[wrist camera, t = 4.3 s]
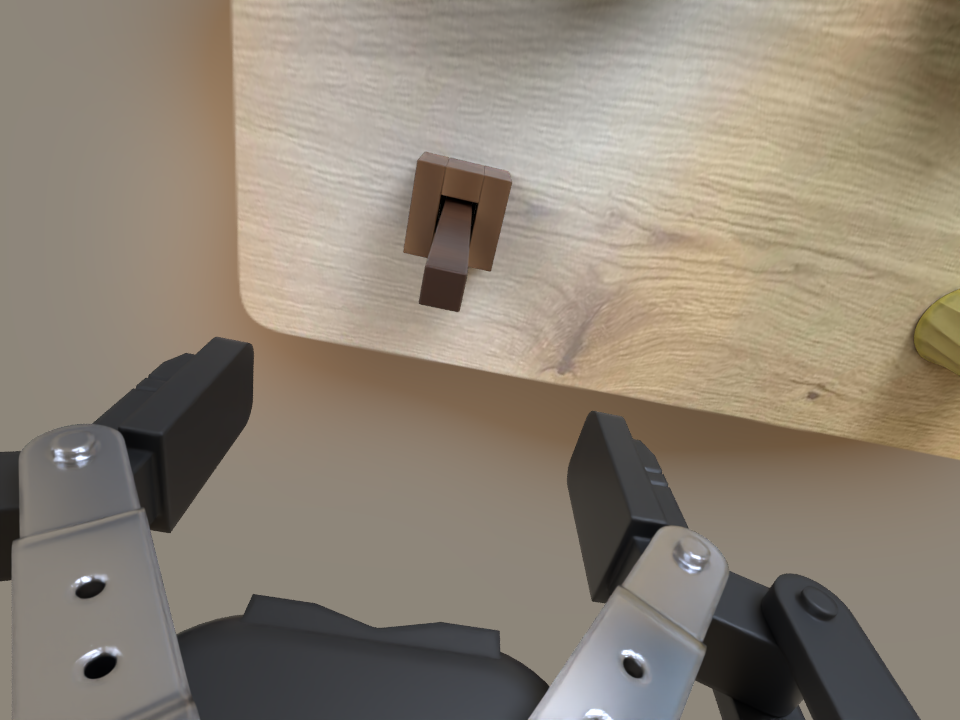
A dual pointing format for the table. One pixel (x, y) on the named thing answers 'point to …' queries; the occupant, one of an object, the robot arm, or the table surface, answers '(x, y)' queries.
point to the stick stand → (460, 183)
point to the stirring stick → (448, 257)
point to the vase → (941, 333)
